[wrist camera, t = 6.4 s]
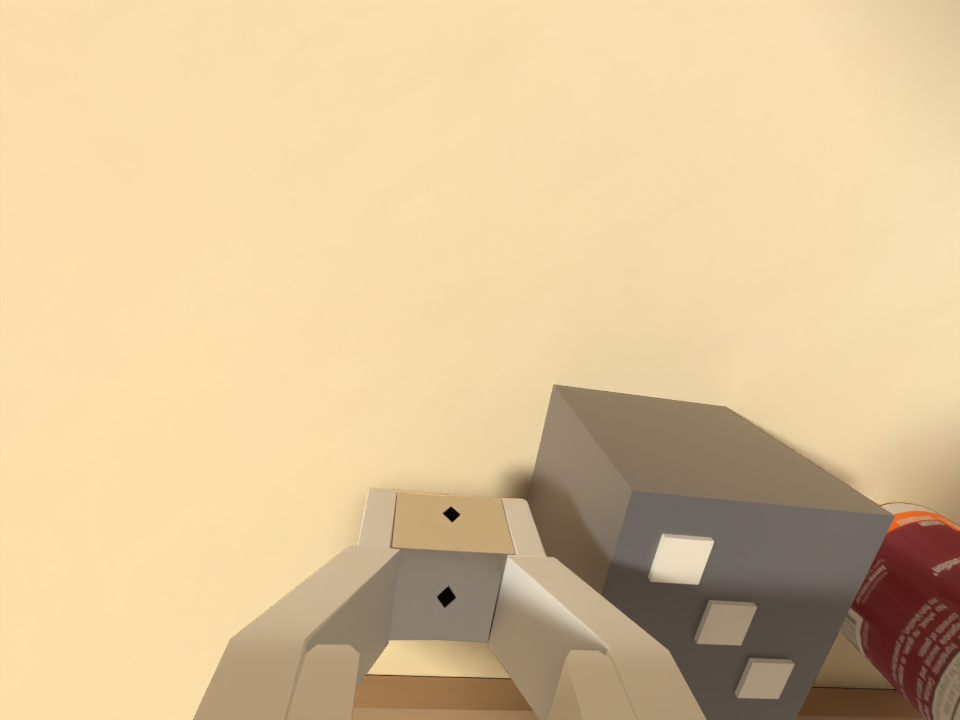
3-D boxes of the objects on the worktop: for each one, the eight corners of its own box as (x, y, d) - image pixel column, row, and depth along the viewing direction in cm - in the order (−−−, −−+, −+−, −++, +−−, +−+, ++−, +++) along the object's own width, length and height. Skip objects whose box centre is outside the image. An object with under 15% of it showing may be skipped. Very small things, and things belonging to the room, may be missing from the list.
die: (553, 383, 12) (635, 495, 7) (723, 405, 13) (901, 519, 8) (516, 542, 14) (565, 724, 9) (672, 553, 14) (798, 727, 9)
